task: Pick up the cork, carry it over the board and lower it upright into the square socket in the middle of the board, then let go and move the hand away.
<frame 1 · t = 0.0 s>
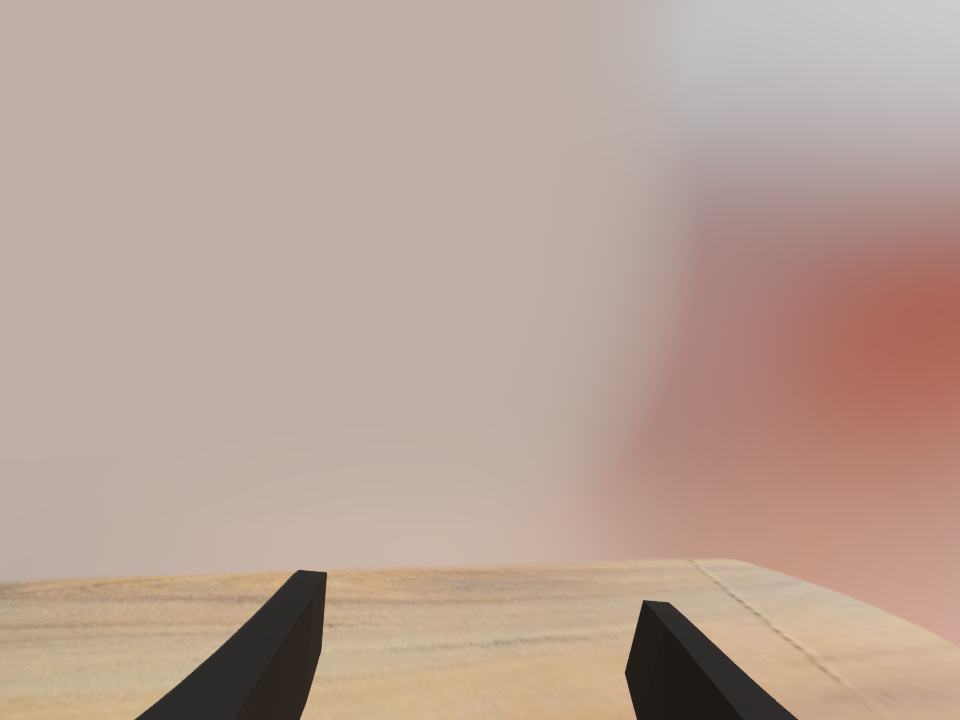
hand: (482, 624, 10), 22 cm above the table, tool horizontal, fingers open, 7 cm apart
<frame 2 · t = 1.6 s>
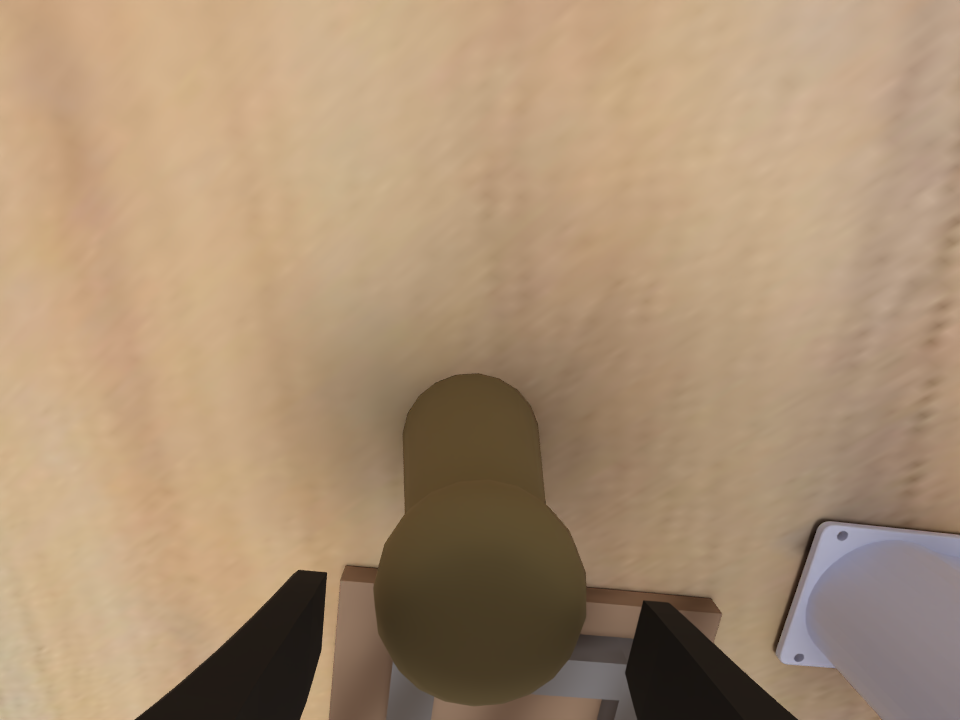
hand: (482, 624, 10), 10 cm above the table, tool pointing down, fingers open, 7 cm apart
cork: (471, 437, 21), on the table
socket board: (508, 713, 24), on the table
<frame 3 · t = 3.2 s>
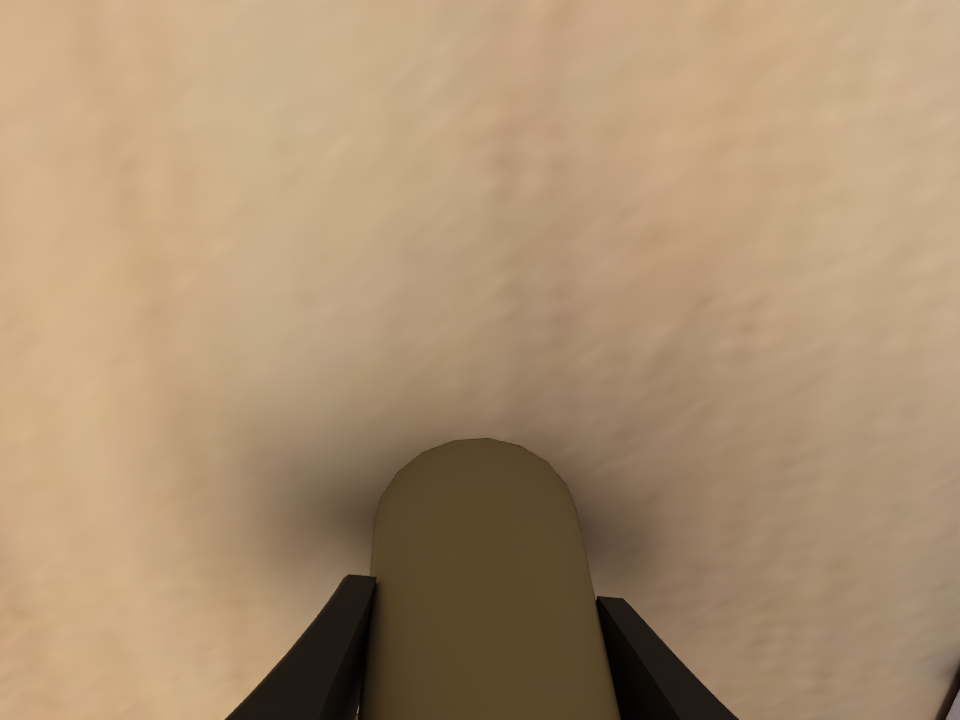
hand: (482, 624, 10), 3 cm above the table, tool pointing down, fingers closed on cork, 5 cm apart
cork: (476, 529, 14), on the table, touching gripper
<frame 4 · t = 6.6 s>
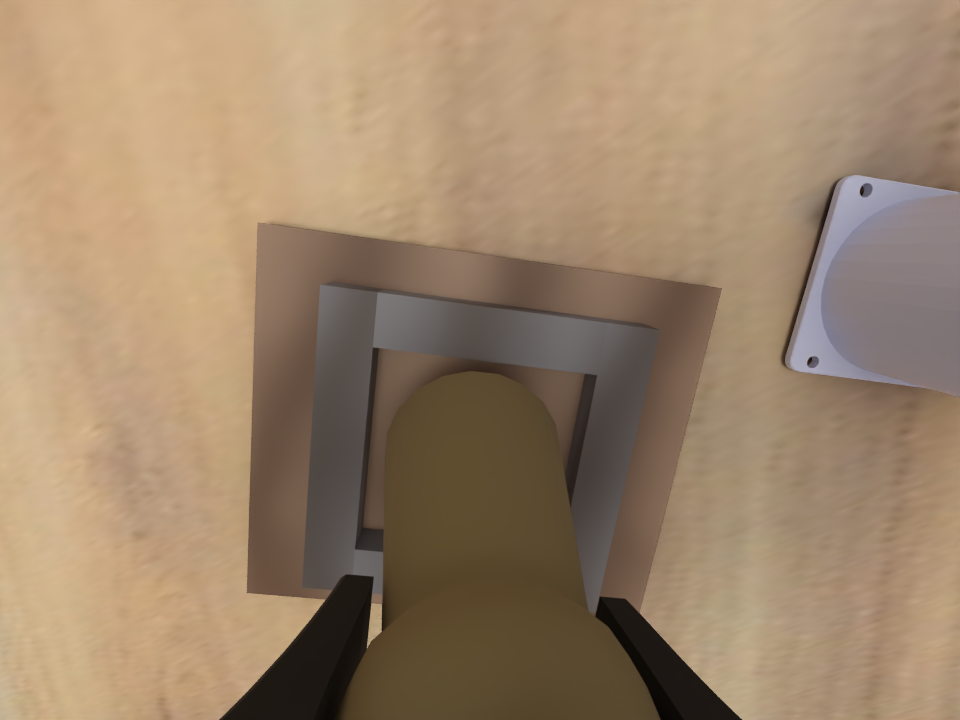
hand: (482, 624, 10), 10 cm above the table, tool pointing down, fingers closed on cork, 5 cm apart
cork: (472, 449, 16), point 4 cm above the table, touching gripper
socket board: (470, 439, 20), on the table
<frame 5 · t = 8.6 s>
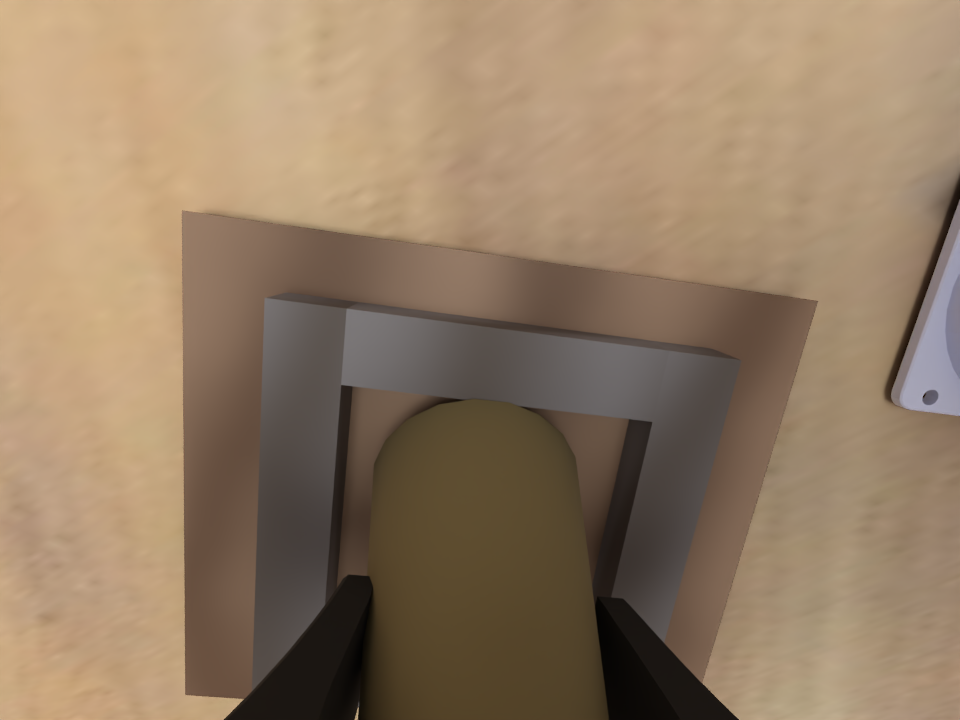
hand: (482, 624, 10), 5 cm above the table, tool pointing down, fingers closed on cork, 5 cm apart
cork: (475, 480, 14), point 2 cm above the table, touching gripper, socket board
socket board: (476, 496, 16), on the table
when the fingers open (5 cm above the table, at t = 10.1 s): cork stays where it is, resting on socket board.
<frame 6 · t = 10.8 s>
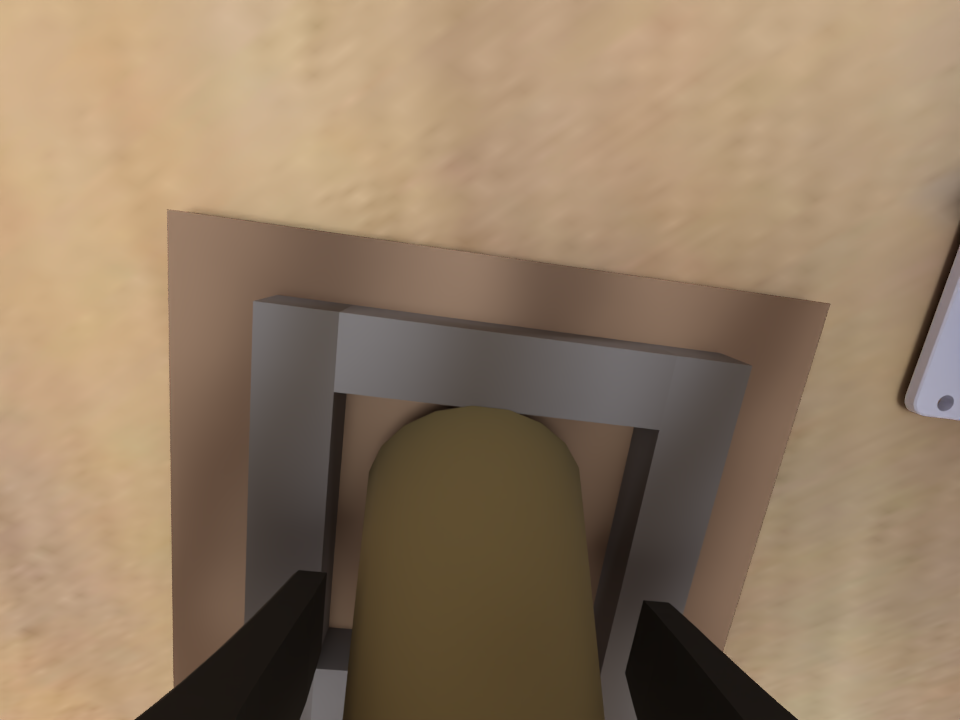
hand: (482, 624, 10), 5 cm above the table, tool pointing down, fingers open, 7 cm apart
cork: (474, 489, 13), point 2 cm above the table, touching socket board
socket board: (475, 506, 15), on the table
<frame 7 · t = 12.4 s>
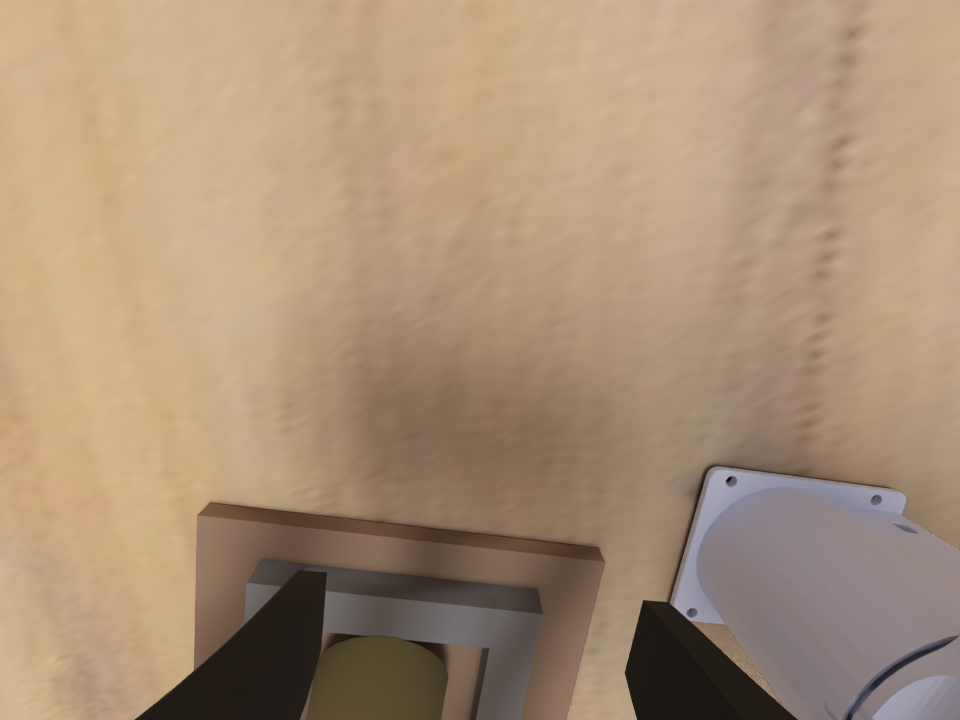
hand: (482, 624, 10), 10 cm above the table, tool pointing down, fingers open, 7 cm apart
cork: (383, 671, 21), point 2 cm above the table, touching socket board
socket board: (390, 667, 23), on the table
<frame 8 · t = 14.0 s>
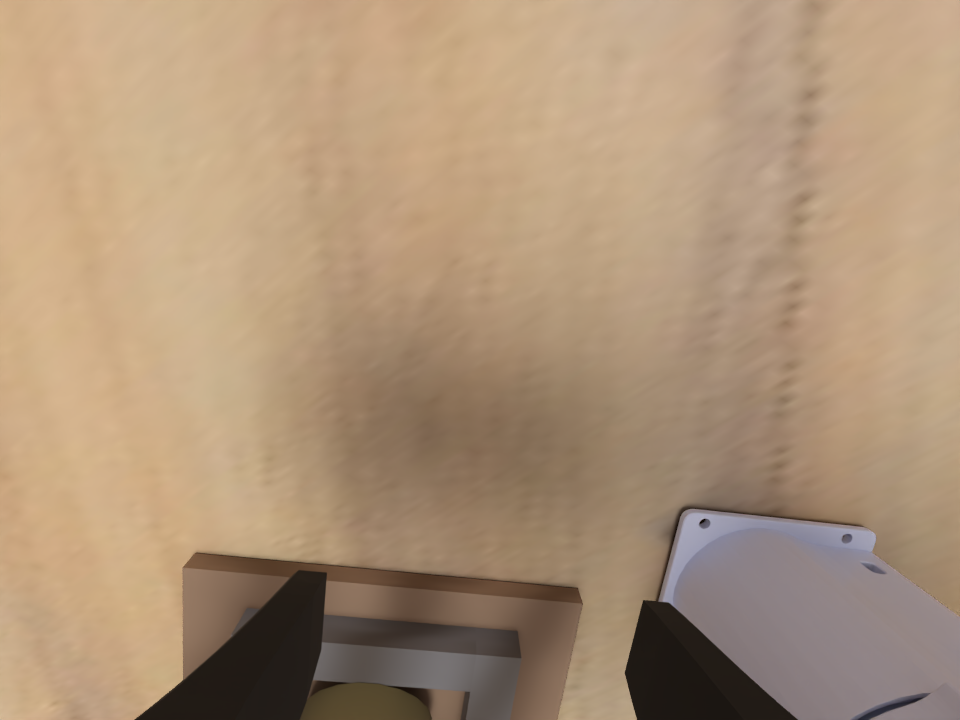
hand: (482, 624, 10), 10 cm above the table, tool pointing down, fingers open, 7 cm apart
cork: (368, 713, 22), point 2 cm above the table, touching socket board
socket board: (377, 706, 24), on the table
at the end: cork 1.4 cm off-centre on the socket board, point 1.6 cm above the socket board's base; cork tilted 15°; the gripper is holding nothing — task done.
